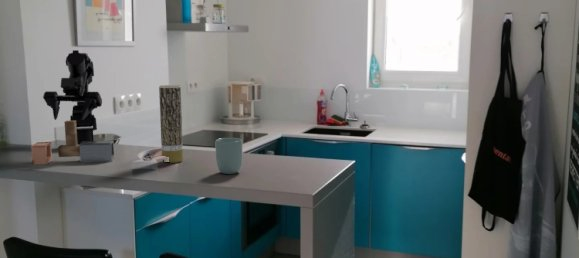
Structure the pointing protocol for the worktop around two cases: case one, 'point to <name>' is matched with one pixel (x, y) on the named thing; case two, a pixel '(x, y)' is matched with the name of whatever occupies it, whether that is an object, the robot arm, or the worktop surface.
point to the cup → (229, 155)
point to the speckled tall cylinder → (171, 122)
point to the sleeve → (96, 151)
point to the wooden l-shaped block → (70, 141)
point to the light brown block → (41, 153)
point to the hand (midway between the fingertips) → (68, 119)
